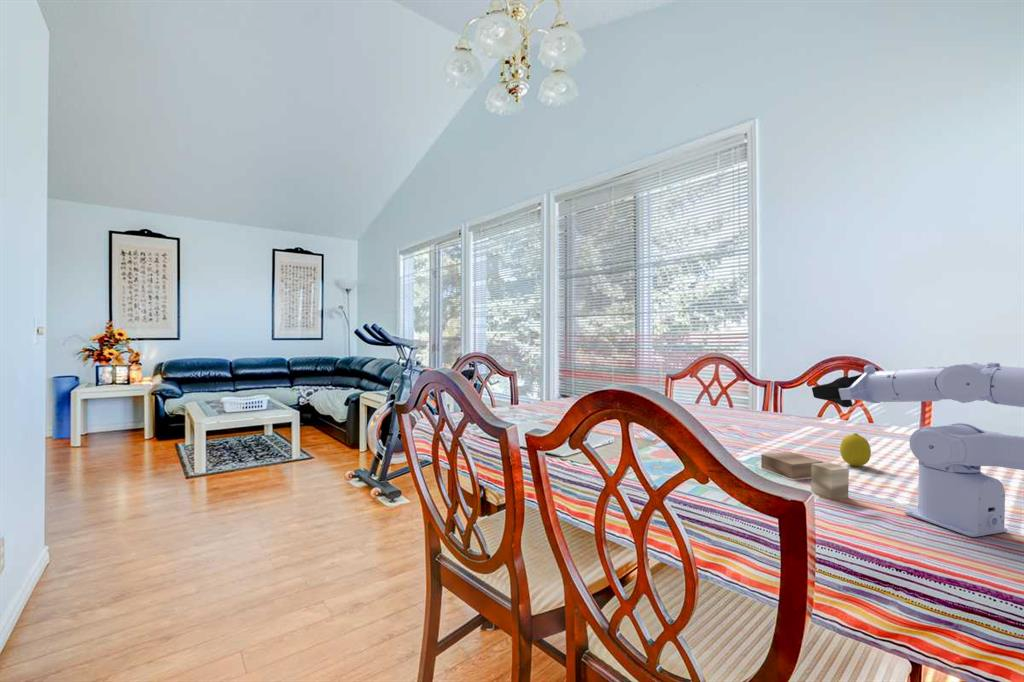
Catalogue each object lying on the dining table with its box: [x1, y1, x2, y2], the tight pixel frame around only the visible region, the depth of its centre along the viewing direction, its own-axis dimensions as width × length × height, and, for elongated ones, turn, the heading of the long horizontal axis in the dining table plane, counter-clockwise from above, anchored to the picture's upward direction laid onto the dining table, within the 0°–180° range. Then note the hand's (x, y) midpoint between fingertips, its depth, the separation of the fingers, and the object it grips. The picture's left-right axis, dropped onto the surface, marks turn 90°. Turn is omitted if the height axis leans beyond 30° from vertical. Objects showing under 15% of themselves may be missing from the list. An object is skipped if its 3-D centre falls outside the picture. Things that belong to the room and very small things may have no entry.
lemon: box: [839, 432, 872, 468], centre depth 102 cm, size 6×6×8 cm
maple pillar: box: [810, 462, 850, 501], centre depth 83 cm, size 4×4×6 cm
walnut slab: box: [760, 451, 824, 479], centre depth 97 cm, size 8×8×3 cm
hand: (826, 388), depth 92 cm, fingers open, 7 cm apart
